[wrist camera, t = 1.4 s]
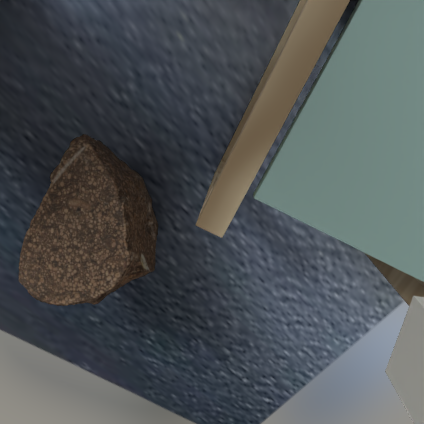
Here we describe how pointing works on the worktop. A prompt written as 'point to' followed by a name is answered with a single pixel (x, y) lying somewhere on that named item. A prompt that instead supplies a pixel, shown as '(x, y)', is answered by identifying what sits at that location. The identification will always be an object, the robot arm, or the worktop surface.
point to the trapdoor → (362, 140)
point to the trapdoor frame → (280, 124)
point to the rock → (89, 229)
